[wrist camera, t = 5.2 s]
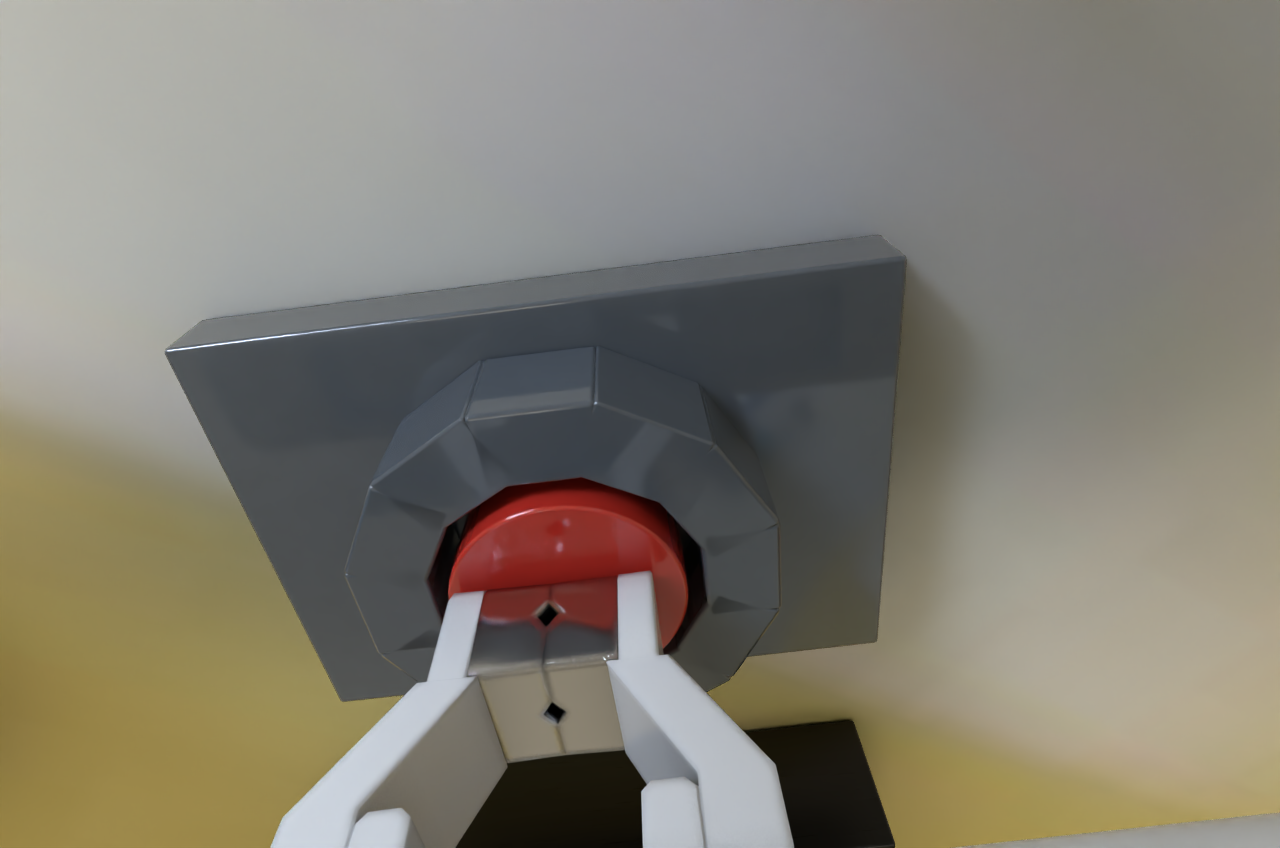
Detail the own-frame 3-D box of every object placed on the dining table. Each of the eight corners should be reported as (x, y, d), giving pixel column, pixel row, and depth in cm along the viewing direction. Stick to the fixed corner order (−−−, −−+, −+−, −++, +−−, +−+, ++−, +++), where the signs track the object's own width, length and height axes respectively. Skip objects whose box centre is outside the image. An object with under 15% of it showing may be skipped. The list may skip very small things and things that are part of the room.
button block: (881, 232, 11) (962, 302, 9) (860, 600, 15) (910, 721, 13) (200, 318, 12) (82, 411, 9) (358, 657, 16) (309, 787, 13)
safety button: (668, 426, 11) (678, 493, 10) (687, 593, 13) (697, 671, 12) (442, 454, 11) (417, 523, 10) (493, 615, 13) (478, 695, 12)
